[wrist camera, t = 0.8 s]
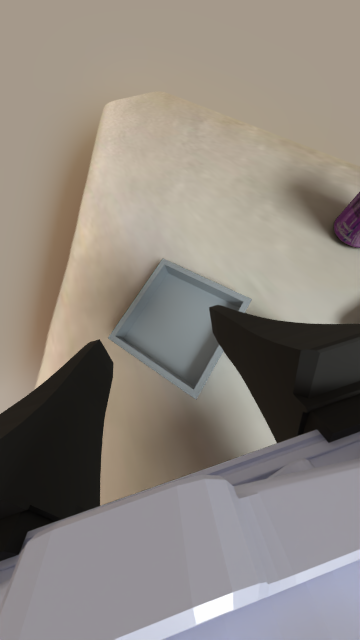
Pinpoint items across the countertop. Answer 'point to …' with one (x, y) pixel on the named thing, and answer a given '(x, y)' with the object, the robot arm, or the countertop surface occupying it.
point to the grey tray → (176, 325)
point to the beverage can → (349, 223)
